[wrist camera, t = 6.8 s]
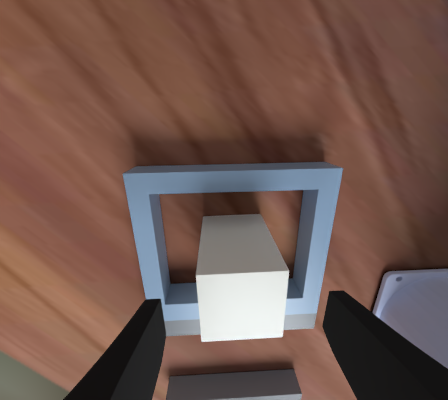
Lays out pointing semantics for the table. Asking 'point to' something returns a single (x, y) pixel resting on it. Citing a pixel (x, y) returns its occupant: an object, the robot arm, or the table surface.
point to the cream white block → (240, 279)
